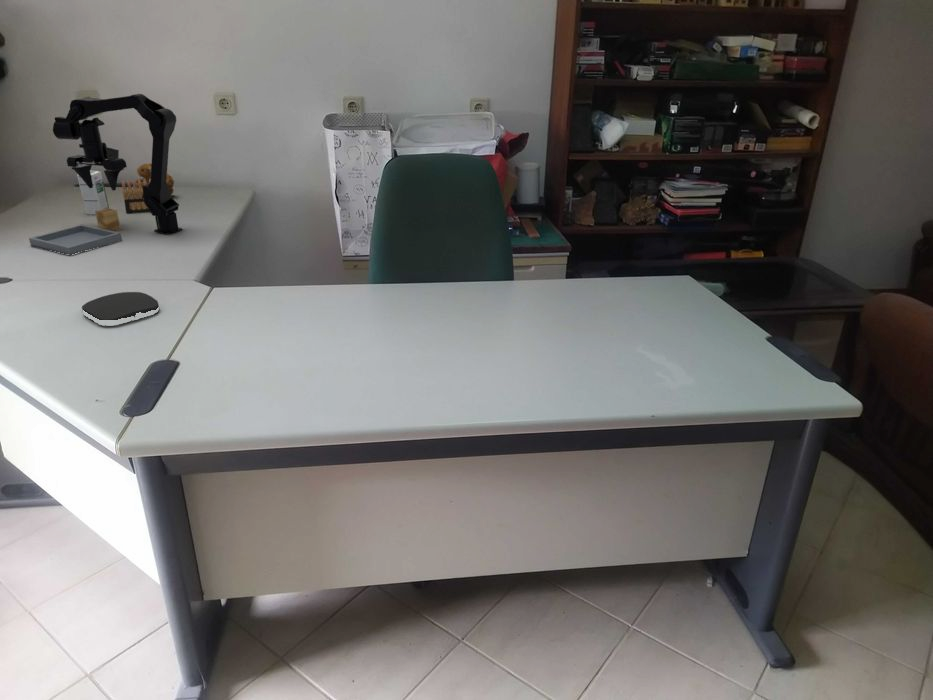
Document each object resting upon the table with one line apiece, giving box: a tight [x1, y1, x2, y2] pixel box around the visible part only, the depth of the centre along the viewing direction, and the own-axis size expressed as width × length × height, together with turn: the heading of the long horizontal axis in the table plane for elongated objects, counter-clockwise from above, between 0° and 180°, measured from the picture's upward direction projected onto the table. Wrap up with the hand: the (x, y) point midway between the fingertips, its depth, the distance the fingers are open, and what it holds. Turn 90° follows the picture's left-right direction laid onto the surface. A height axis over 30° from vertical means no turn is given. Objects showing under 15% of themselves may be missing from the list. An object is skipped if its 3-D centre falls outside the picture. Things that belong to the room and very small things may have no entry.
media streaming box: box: [81, 291, 160, 320], centre depth 161 cm, size 15×15×3 cm
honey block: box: [95, 208, 121, 232], centre depth 219 cm, size 4×4×6 cm
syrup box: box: [76, 170, 110, 216], centre depth 235 cm, size 6×6×14 cm
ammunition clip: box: [121, 178, 151, 215], centre depth 238 cm, size 11×2×12 cm, turn 113°
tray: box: [28, 224, 123, 256], centre depth 206 cm, size 18×18×2 cm
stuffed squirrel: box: [135, 162, 175, 197], centre depth 257 cm, size 10×14×13 cm
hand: (102, 189), depth 217 cm, fingers open, 9 cm apart
